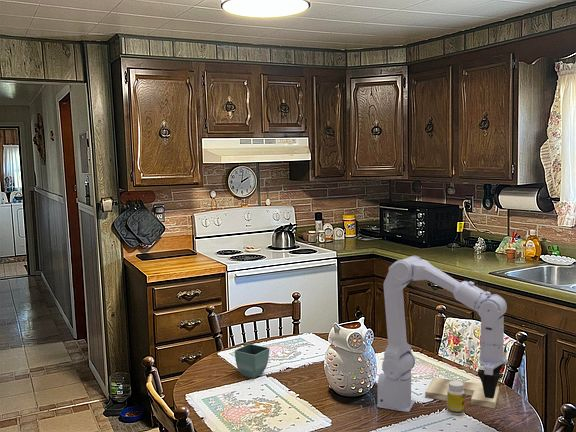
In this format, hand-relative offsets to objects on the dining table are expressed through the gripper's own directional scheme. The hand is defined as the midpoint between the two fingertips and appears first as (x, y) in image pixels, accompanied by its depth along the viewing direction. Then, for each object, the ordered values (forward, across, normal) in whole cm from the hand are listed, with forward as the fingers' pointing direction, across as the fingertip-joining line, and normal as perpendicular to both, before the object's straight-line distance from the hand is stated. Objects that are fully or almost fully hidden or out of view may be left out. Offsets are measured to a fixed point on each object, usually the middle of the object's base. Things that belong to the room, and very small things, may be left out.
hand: (490, 392), depth 156 cm
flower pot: (+11, +11, +77) cm, 79 cm away
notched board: (+10, +21, +10) cm, 25 cm away
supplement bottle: (+11, +8, +10) cm, 17 cm away
